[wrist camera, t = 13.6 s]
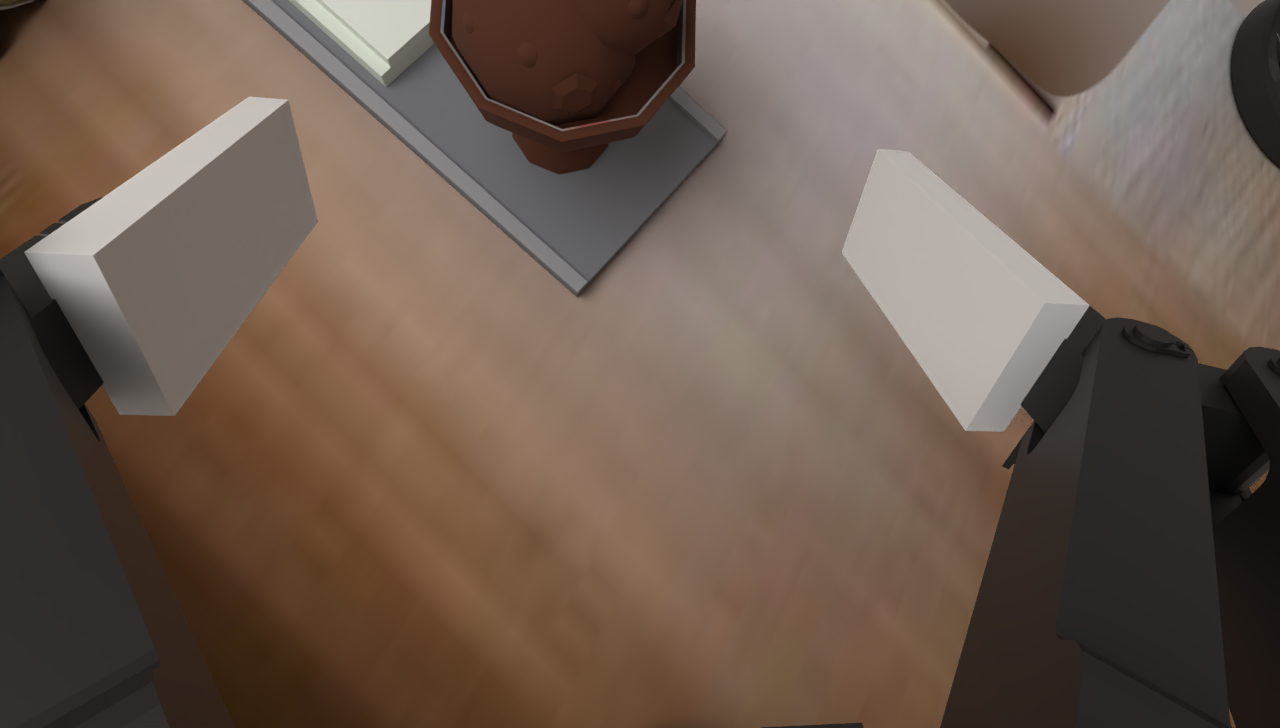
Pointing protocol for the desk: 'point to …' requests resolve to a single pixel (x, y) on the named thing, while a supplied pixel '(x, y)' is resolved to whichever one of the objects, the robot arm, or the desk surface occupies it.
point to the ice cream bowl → (567, 68)
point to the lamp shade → (12, 3)
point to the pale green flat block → (375, 31)
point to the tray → (519, 155)
